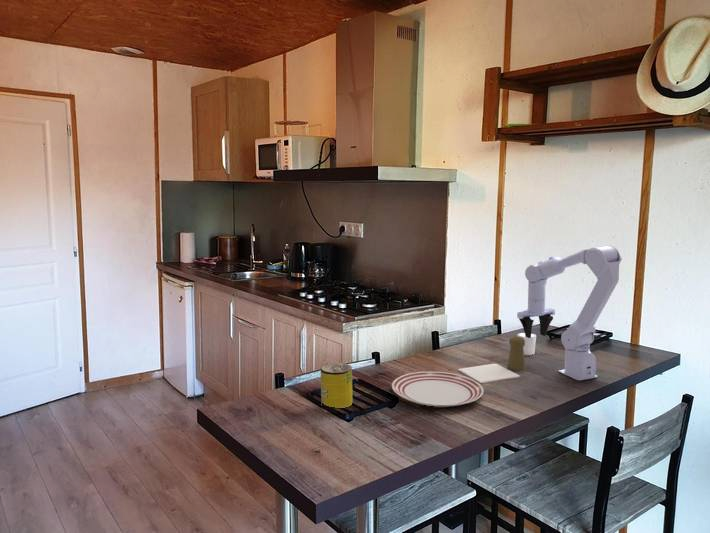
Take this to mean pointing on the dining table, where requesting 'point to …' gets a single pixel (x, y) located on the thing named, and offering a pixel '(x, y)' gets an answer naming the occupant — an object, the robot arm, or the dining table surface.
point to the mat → (488, 373)
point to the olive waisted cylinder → (516, 354)
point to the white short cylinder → (528, 343)
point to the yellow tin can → (336, 385)
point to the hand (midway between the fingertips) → (535, 336)
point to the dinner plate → (437, 388)
